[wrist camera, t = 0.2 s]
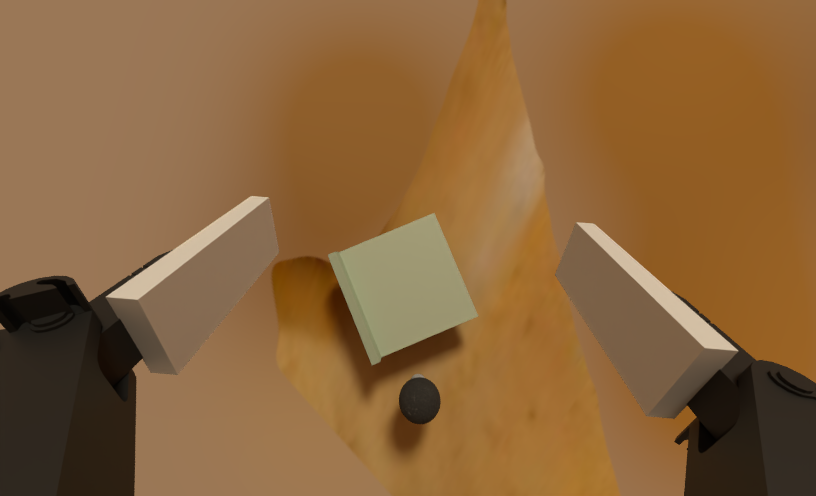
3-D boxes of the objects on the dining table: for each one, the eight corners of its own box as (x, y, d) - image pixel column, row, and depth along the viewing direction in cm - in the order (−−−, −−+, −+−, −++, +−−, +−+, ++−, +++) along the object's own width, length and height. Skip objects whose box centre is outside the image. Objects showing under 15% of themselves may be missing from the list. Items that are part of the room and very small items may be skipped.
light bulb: (412, 404, 47) (413, 442, 37) (393, 373, 47) (389, 402, 37) (441, 385, 47) (451, 418, 37) (423, 355, 47) (427, 379, 37)
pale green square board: (476, 315, 42) (481, 318, 39) (374, 358, 42) (371, 365, 39) (433, 214, 43) (435, 210, 40) (333, 255, 43) (327, 255, 40)
